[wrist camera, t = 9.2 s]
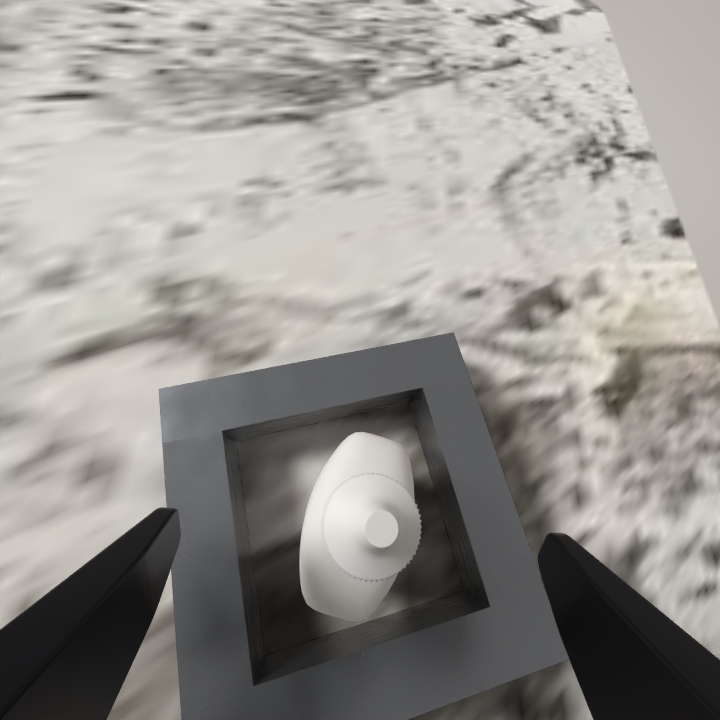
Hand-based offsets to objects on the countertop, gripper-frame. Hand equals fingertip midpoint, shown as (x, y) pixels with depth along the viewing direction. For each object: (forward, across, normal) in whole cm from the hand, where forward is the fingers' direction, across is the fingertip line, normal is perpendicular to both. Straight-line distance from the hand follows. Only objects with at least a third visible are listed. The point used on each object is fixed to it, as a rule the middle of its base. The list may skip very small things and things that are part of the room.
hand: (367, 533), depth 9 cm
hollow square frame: (+7, 0, +7) cm, 10 cm away
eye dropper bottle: (+8, 0, +7) cm, 11 cm away
